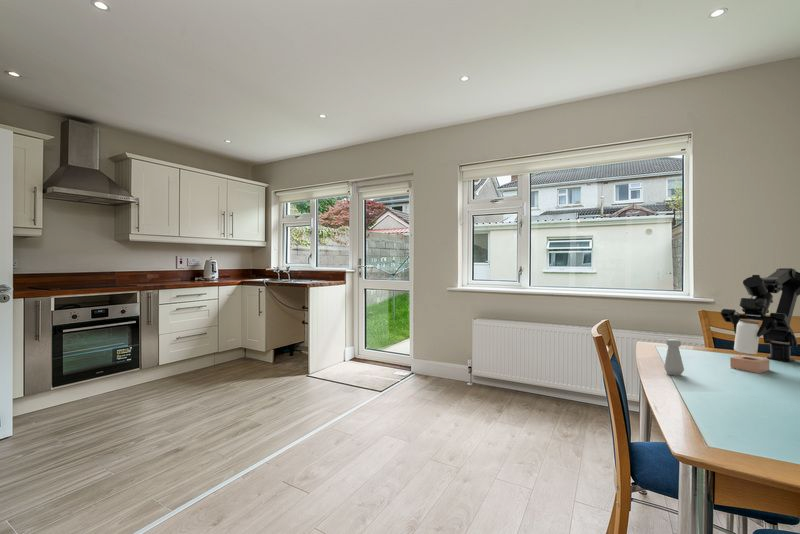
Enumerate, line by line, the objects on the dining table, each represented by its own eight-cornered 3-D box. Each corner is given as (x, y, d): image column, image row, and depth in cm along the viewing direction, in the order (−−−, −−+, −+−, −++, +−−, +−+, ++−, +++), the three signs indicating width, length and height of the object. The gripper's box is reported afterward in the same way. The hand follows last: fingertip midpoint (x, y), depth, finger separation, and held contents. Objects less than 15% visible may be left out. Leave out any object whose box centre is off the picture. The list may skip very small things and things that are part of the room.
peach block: (740, 364, 142) (740, 354, 142) (769, 370, 134) (769, 359, 134) (730, 367, 138) (730, 357, 138) (759, 373, 130) (759, 362, 130)
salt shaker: (688, 376, 128) (687, 341, 128) (672, 377, 128) (671, 341, 128) (675, 371, 134) (675, 337, 134) (660, 372, 134) (660, 337, 134)
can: (746, 354, 134) (749, 323, 133) (729, 349, 140) (732, 319, 139) (761, 355, 134) (765, 324, 133) (744, 349, 141) (747, 320, 139)
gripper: (722, 289, 146) (708, 318, 142) (786, 291, 129) (773, 325, 125) (732, 306, 150) (719, 335, 145) (795, 311, 133) (783, 344, 128)
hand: (746, 334), depth 136 cm, fingers closed on can, 6 cm apart
